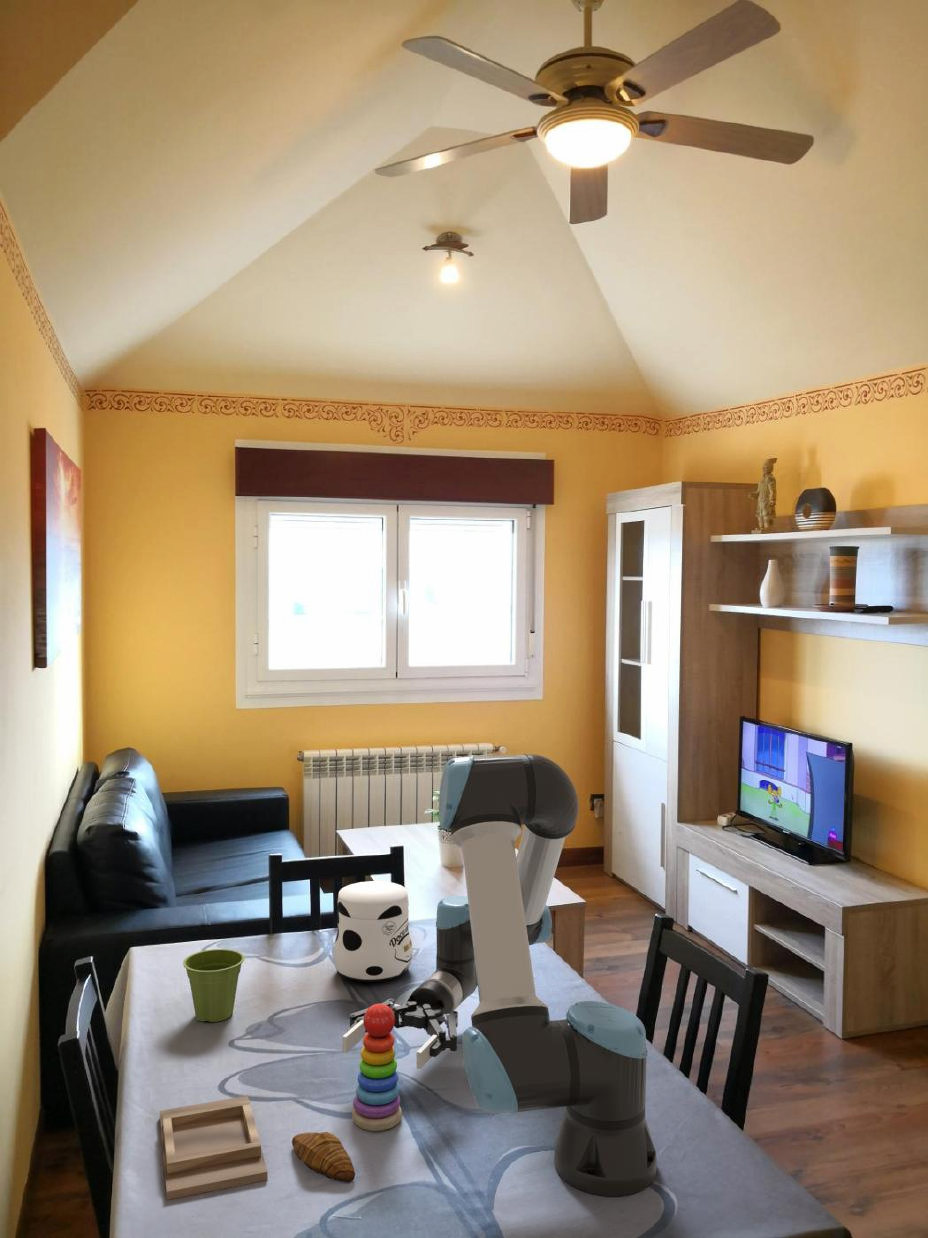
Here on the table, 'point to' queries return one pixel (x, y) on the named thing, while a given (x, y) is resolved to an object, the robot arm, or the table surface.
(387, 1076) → the stacking toy
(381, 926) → the milk container
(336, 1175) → the croissant
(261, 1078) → the table surface
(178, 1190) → the toy stand
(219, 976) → the plant pot
